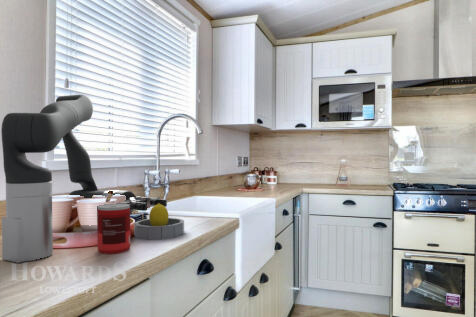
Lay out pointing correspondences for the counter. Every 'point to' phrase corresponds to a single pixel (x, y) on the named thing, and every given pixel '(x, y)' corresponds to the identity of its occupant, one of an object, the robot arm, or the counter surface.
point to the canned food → (113, 228)
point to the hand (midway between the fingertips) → (156, 205)
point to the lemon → (158, 215)
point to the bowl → (159, 229)
